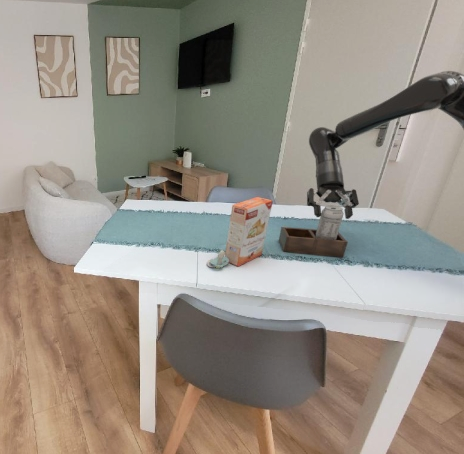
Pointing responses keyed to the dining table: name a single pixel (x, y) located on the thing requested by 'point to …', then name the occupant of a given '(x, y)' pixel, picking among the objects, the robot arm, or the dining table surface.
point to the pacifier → (218, 260)
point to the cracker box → (247, 230)
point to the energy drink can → (329, 223)
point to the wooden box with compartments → (310, 243)
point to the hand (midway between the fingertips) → (333, 217)
